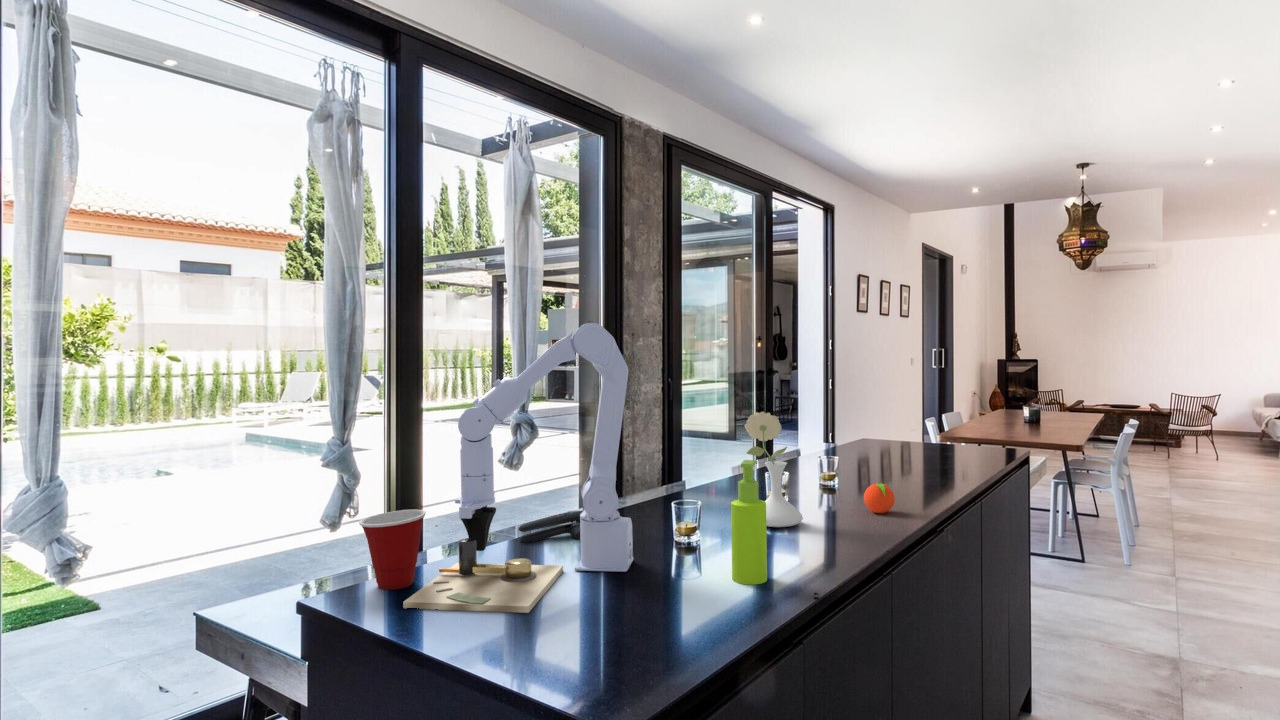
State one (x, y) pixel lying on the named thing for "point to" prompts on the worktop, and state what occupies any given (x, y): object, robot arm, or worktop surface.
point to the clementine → (879, 498)
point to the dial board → (485, 591)
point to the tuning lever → (470, 566)
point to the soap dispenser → (749, 531)
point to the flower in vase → (772, 471)
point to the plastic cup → (394, 546)
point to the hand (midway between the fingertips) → (478, 549)
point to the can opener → (550, 532)
